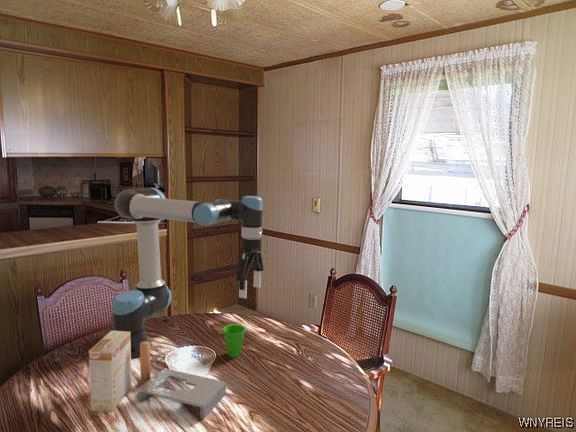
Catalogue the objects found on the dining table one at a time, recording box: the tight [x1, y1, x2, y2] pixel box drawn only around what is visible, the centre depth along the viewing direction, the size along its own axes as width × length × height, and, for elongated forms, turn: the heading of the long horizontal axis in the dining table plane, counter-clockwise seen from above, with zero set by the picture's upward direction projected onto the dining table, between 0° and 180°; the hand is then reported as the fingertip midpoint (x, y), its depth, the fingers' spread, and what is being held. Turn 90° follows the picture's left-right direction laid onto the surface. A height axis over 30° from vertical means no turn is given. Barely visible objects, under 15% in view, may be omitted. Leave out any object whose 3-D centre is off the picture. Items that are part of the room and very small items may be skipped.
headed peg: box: [137, 340, 152, 389], centre depth 138 cm, size 5×5×15 cm
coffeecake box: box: [88, 330, 133, 413], centre depth 130 cm, size 15×7×20 cm, turn 178°
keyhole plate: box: [136, 367, 227, 420], centre depth 131 cm, size 24×14×4 cm, turn 71°
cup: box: [222, 323, 247, 359], centre depth 161 cm, size 9×9×11 cm
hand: (250, 292), depth 155 cm, fingers open, 13 cm apart
